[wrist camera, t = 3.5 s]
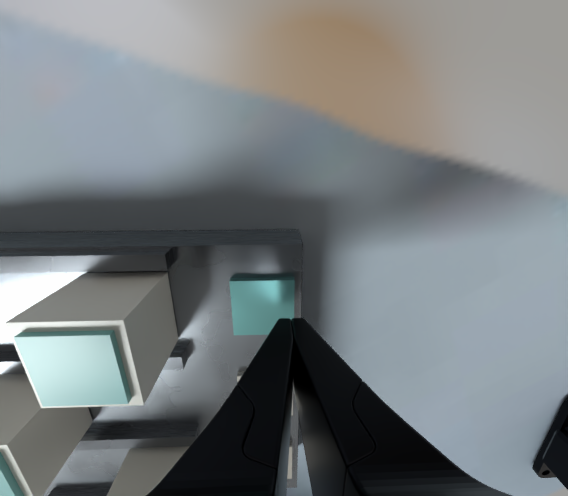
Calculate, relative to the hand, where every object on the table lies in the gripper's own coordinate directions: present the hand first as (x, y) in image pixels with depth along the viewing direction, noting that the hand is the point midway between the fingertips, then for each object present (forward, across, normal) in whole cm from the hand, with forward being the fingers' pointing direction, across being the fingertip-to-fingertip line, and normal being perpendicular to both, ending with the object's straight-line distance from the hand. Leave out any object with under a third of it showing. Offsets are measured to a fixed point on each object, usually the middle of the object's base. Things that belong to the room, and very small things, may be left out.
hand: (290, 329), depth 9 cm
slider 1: (+2, +6, 0) cm, 6 cm away
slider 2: (+2, +10, +4) cm, 12 cm away
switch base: (+4, +8, +4) cm, 9 cm away
